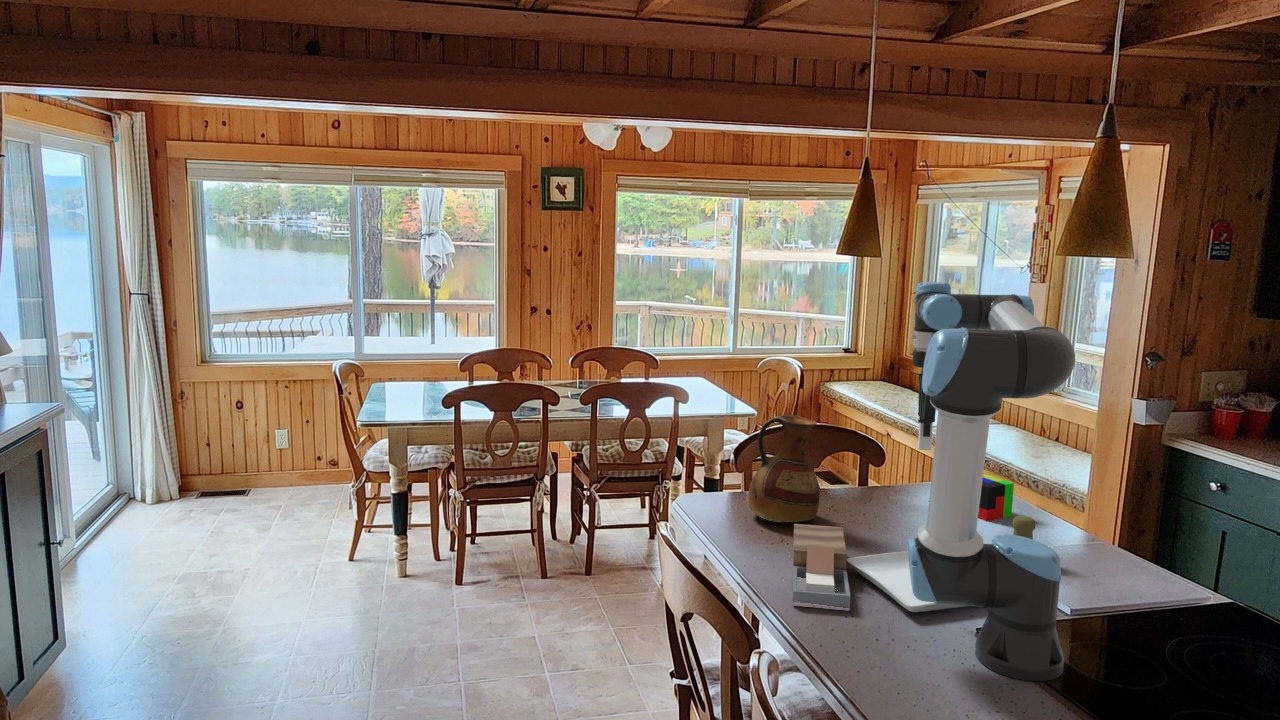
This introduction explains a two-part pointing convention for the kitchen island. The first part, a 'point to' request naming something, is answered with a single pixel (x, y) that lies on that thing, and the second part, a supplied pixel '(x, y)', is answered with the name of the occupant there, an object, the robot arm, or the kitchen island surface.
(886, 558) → the square plate
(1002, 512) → the puzzle toy
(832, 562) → the terracotta tile
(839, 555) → the brushed bronze panel
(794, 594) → the bin
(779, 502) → the ceramic pitcher
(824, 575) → the cream tile
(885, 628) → the kitchen island surface
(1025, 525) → the cork
